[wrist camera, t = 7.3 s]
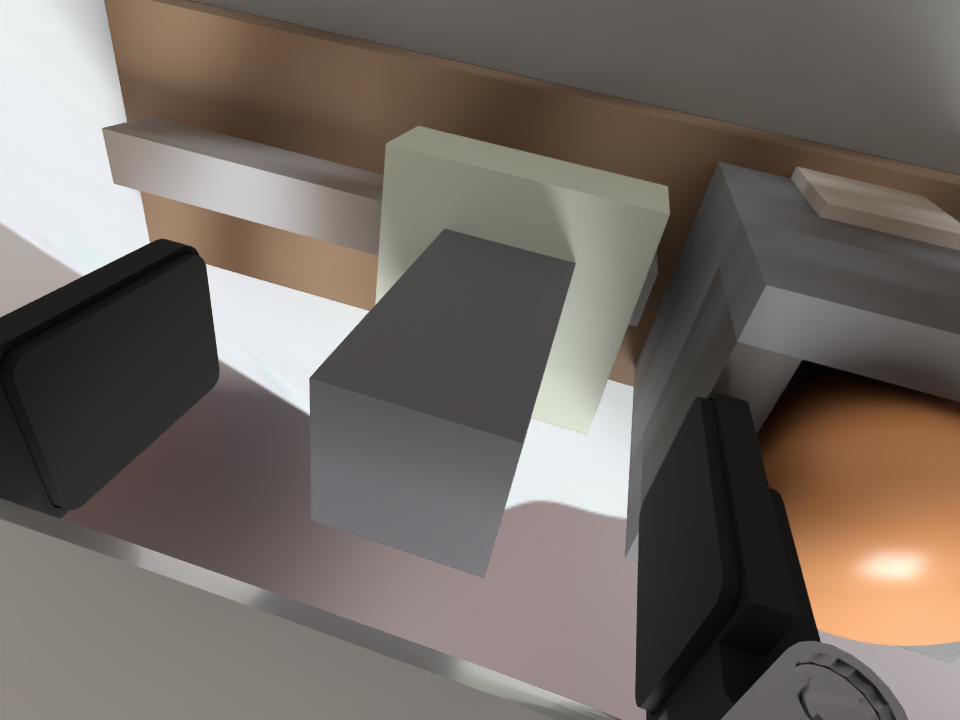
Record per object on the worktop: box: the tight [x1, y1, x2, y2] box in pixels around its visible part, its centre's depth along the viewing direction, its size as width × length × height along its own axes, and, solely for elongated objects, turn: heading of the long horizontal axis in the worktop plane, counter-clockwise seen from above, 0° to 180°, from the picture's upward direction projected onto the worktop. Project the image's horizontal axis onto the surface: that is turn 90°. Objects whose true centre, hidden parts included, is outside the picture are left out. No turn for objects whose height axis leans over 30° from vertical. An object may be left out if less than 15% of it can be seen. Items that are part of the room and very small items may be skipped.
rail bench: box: [102, 0, 960, 663], centre depth 14 cm, size 25×8×9 cm, turn 81°
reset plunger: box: [756, 371, 960, 646], centre depth 10 cm, size 4×4×2 cm
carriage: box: [310, 126, 670, 578], centre depth 12 cm, size 6×6×10 cm
